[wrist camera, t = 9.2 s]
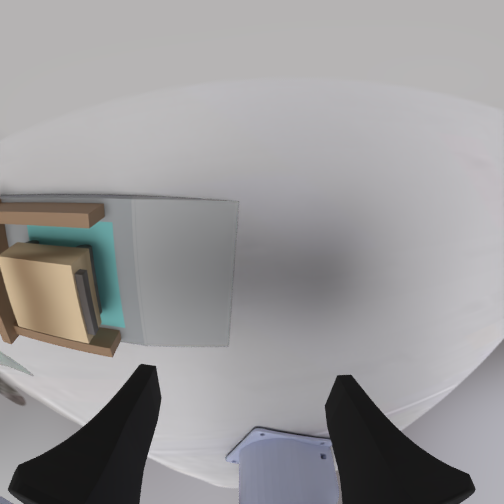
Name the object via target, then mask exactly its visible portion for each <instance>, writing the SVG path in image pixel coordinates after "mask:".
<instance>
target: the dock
mask: <svg viewBox="0 0 504 504" xmlns="http://www.w3.org/2000/svg"><path fill="white" fill-rule="evenodd" d="M238 207H239V201H226V200H212V199H196V198H178V197H157V196H124V195H6V196H0V254H1V253H2V252H4V251H5V250H7V249H8V248H9V247H11V246H12V245H14V244H15V243H17V242H22V243H26V242H28V241H29V235H28V229H27V225H36V226H54V227H72V228H91V227H92V226H93V225H95V224H96V223H97V222H112V223H113V237H114V248H115V258H116V267H117V276H118V284H119V291H120V298H121V304H122V311H123V317H124V322H125V328H122V327H115V326H109V325H103V324H100V326H99V330H98V331H97V333H96V335H94V336H93V338H92V339H91V341H90V343H89V344H88V343H83V342H79V341H74V340H70V339H65V338H61V337H57V336H53V335H49V334H45V333H41V332H37V331H33V330H30V329H26V328H23V327H19V326H18V323H17V320H16V317H15V315H14V312H13V309H12V306H11V303H10V300H9V296H8V293H7V290H6V286H5V283H4V279H3V276H2V272H1V268H0V334H1V336H2V339H3V341H4V342H7V343H9V344H12V343H13V342H14V341H15V339H16V338H17V337H18V336H19V335H22V336H26V337H29V338H32V339H36V340H40V341H43V342H47V343H51V344H55V345H58V346H62V347H67V348H71V349H75V350H79V351H84V352H88V353H93V354H98V355H103V356H108V357H113V355H114V353H115V351H116V349H117V347H118V345H119V343H120V342H125V343H131V344H138V345H145V346H166V347H229V332H230V317H231V302H232V287H233V273H234V259H235V246H236V233H237V220H238Z"/></svg>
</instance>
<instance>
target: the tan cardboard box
mask: <svg viewBox="0 0 504 504" xmlns="http://www.w3.org/2000/svg"><path fill="white" fill-rule="evenodd" d="M0 268H1V272H2V276H3V279H4V283H5V286H6V290H7V293H8V296H9V300H10V303H11V306H12V309H13V312H14V315H15V317H16V320H17V323H18V326H19V327H23V328H26V329H30V330H33V331H37V332H41V333H45V334H49V335H53V336H57V337H61V338H65V339H70V340H74V341H79V342H83V343H88V344H89V343H90V341H91V339H92V338H93V336H94V335H96V333H97V331H98V330H99V326H100V324H101V323H102V321H101V317H100V314H101V313H102V307H101V302H100V296H99V291H98V285H97V279H96V272H95V266H94V258H93V251H92V246H91V245H87V244H84V245H79V246H77V247H65V246H54V245H43V244H39V241H37V240H31V241H28V242H26V243H22V242H17V243H15V244H14V245H12V246H11V247H9V248H8V249H7V250H5V251H4V252H2V253H1V254H0Z"/></svg>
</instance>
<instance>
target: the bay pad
mask: <svg viewBox="0 0 504 504" xmlns="http://www.w3.org/2000/svg"><path fill="white" fill-rule="evenodd" d="M27 229H28V235H29V241H31V240H37V241H39V244H43V245H54V246H65V247H77V246H79V245H84V244H87V245H91V246H92V251H93V258H94V266H95V272H96V279H97V285H98V291H99V296H100V302H101V307H102V313H101V314H100V317H101V321H102V323H101V324H103V325H109V326H115V327H122V328H125V322H124V317H123V311H122V304H121V298H120V291H119V284H118V276H117V267H116V258H115V248H114V237H113V223H112V222H97V223H96V224H95V225H93V226H92V227H91V228H72V227H54V226H36V225H27Z"/></svg>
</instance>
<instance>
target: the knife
mask: <svg viewBox="0 0 504 504" xmlns="http://www.w3.org/2000/svg"><path fill="white" fill-rule="evenodd" d="M0 365H4V366H8V367H11V368H14V369H16V370H19V371H22V372H24V373H27V374H29V375H32V374H31V373H30V372H29V371H28V370H27V369H26V368H24V367H23V366H21V365H20V364H18V363H17V362H16V361H14V360H13V359H11V358H10V357H8V356H6V355H5V354H3V353H2V352H0ZM32 376H33V375H32Z"/></svg>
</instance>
